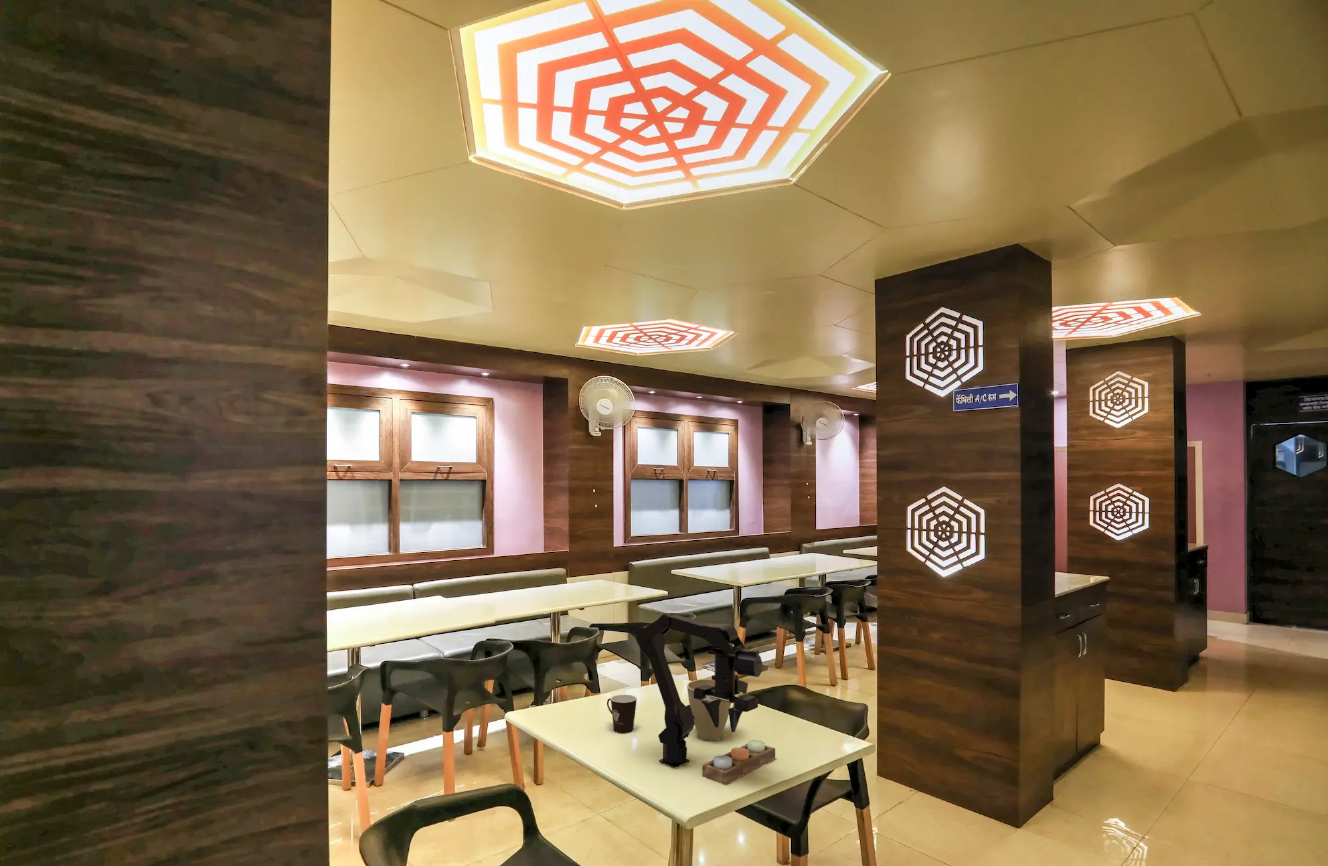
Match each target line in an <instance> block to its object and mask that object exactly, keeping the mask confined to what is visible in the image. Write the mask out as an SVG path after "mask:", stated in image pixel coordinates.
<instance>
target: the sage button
mask: <svg viewBox="0 0 1328 866" xmlns="http://www.w3.org/2000/svg"><path fill="white" fill-rule="evenodd" d="M746 744H747V750H749V751H751V752H754V753H758V754H759V753H761V752H763V751H765V742H764V741H763V740H757V739H753V740H752V739H751V740H748V741H747V743H746Z"/></svg>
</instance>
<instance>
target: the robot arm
mask: <svg viewBox="0 0 1328 866" xmlns="http://www.w3.org/2000/svg"><path fill="white" fill-rule="evenodd" d="M671 630H673V631H677V632H681V633H683V634H687V635H691V636H693V637H697V638H701V639H703V640H704V641H705V642H707V643H708V644H709V645H711V646H712V647H710V649H709V650H707V654H708V655H712V656H714V674H713V675H711V679H712V680H715V687H714V686H710V685H706V684H705V685H702V686H699V687H696V688H695V689H694V691H693V698H695V699H699V700H702V699H703V701H702V704H704V705H705V707H706V709H707V711H708V713H709V715H710V717H711V719H712V721H713V723H714V726H715V727H716V728H717V727H719V705H720V702H721V700H722V701H726V702H730V703H731V704H732V707H730V708H729V709H728V711H729V715H728V719H729V725H730V730H731V733H735V732H736V729H737V726H738V723H739V720H740V718H741V716H742V714H743V712H744V713H749V712H750V711H753V710H755V709H757V708H759V700H758V699H757V696H753V695H749V694H747V693H748V692H747V691H748V687H749V682H747V681H743V680H739V676H738V675H744V676H748V677H749V676H750V677H754V678H758V677H760V676H761V674H762V672H763V671H762V670H763V661H762V657H761V655H760V651H759V650H757V649H753V650H751V649H746V646H745V644H744V643H743V642H742V640H741V638H740V637H739V633H738V630H737V629H736V626H734V625H733V624H730V623H709V622H703V621H701V620H697V619H693V618H691V617H686V616H683V615H679V614H676V613H674V612H668V613H665V614H662V615H661V616H660V617H659V618H658V619H656V620H654V621H653V622H651V623H650V624H648V625H646V626H642V627H640V628H639V629H638V630H637V632H636V634H635V640H636V643H637V645H638V646H639V650H640V651H641V652H642V653H643V654H644V655H645V656H646V658H648V660H649V663H650V666H651V669H652V672H653V675H654V678H655V681H656V683H657V687H658V690H659V693H660V696H661V699H662V701H663V705H664V719H663V720H664V724H665V728H664V729H663V730H662V731H661V732H660V733H659V734H658V736H657V737H658V740H659V743H660V744H662V758H661V759H659V760H658V762H659V763H661V764H663V765H666V766H669V767H671V768H674V769H676V768H679V767H681V766H683V765H685V764H687V763H690V759H689V758H688V748H687V741H686V740H685V739H687V738H689V735H690V733H691V732H692V731H693V730H694V727H695V724H694V719H695V717H694V716H693V714H692V710H691V707H690V704H688V705H685V704H684V702H682V700H681V697H680V695H679V692H678V689H677V686H676V683H675V680H674V677H673V675H672V671H671V669H670V666H669V663H668V659H667V658H666V653H665V647H666V639H665V635H666V634H668V632H670V631H671ZM732 645H733V646H732ZM736 673H737V674H736ZM741 693H742V694H743V695H740V694H741ZM736 695H737V696H736ZM738 695H740V696H738ZM729 698H730V699H729Z"/></svg>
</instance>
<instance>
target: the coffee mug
mask: <svg viewBox="0 0 1328 866" xmlns="http://www.w3.org/2000/svg"><path fill="white" fill-rule="evenodd" d="M637 700H638V697H636V696H635V695H632V694H617V695H616V694H615V695H613V696H612V697H610V698H608V699H607V700H606V701H607V702H606V706H607V709H608V711H609V712H610V714H611V715H612V717H611V718H612V724H613V725H612V726H613V731H614V732H615V733H616V732H617V733H616V734H623V735H624V734H629V732H630V733H632V732H633V731H634V728H635V727H634V725H635V719H636V708H637ZM609 703H610V705H611V707H610V705H609Z"/></svg>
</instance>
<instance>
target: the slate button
mask: <svg viewBox="0 0 1328 866" xmlns="http://www.w3.org/2000/svg"><path fill="white" fill-rule="evenodd" d="M723 755H724V754H723ZM723 755H716V756H714V757H713V760H714V767H716V768H719V769H721V770H724V771H725V770H727V769H729V768H731V767H732V758H731V757H728V756H723Z"/></svg>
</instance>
